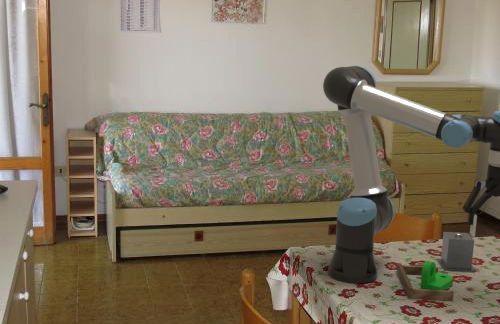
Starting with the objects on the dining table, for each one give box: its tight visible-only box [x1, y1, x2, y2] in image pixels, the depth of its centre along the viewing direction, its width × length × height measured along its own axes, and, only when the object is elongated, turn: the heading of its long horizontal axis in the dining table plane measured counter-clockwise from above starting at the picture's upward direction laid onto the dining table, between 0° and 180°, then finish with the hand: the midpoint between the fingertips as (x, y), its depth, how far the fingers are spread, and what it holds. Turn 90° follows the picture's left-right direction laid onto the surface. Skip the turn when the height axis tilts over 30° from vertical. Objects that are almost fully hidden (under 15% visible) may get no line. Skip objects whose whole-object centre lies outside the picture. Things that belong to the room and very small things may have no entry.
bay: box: [396, 262, 455, 301], centre depth 201 cm, size 13×21×3 cm, turn 176°
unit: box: [436, 231, 476, 273], centre depth 219 cm, size 10×10×11 cm
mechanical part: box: [419, 260, 454, 290], centre depth 201 cm, size 12×6×8 cm, turn 141°
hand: (494, 236), depth 197 cm, fingers open, 12 cm apart
